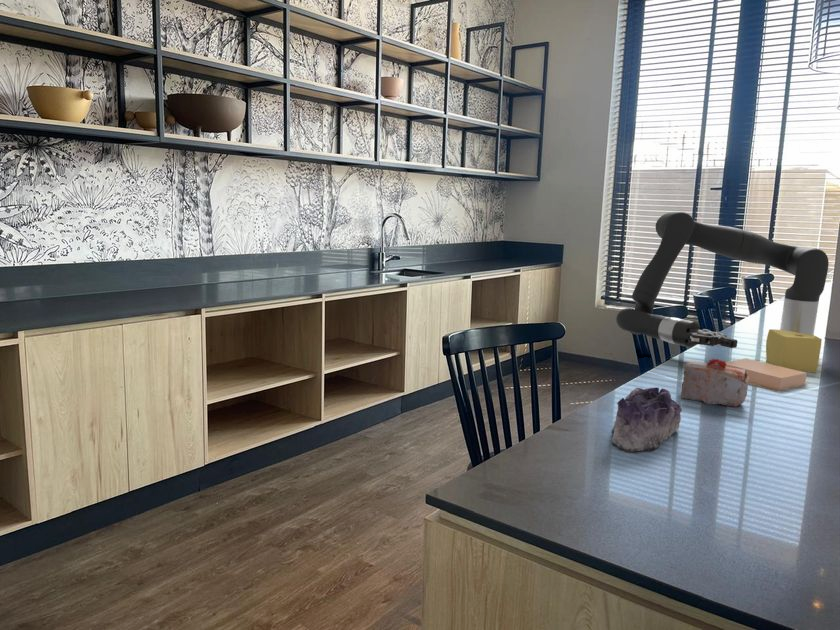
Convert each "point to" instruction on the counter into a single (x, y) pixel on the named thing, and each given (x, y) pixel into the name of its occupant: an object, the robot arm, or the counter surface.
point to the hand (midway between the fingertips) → (735, 344)
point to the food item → (714, 383)
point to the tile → (769, 374)
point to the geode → (645, 420)
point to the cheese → (793, 350)
